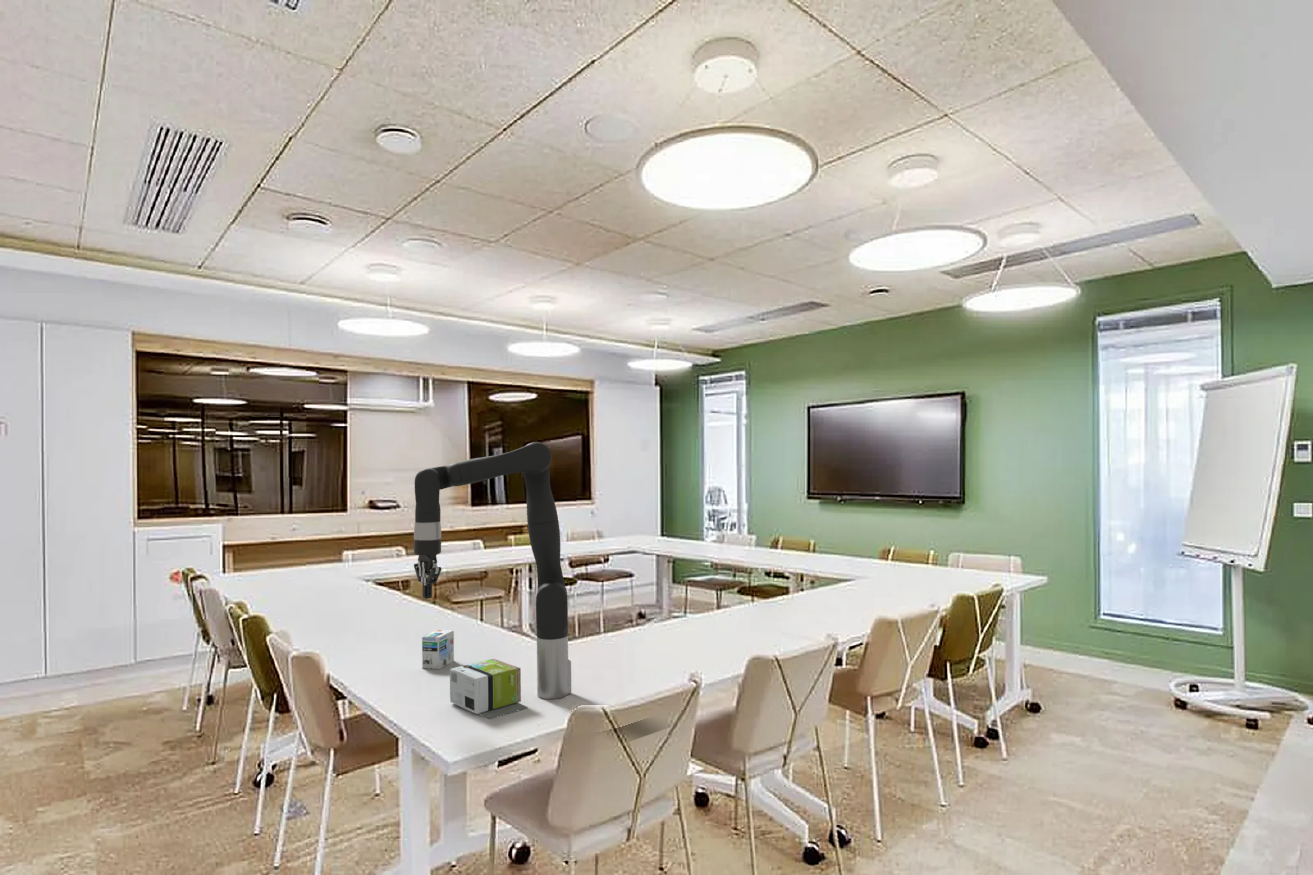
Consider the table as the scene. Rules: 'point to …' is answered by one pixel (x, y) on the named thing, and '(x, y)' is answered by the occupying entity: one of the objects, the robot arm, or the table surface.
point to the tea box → (485, 685)
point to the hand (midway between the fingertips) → (427, 597)
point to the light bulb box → (437, 649)
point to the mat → (503, 710)
